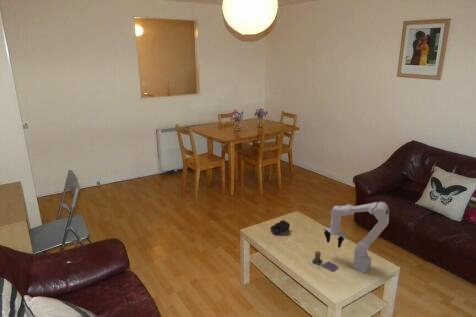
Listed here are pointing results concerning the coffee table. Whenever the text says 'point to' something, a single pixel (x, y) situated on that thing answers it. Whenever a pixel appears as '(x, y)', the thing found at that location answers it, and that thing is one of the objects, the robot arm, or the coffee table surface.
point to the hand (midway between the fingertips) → (333, 244)
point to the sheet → (315, 264)
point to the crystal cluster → (280, 228)
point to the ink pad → (330, 266)
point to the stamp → (317, 258)
